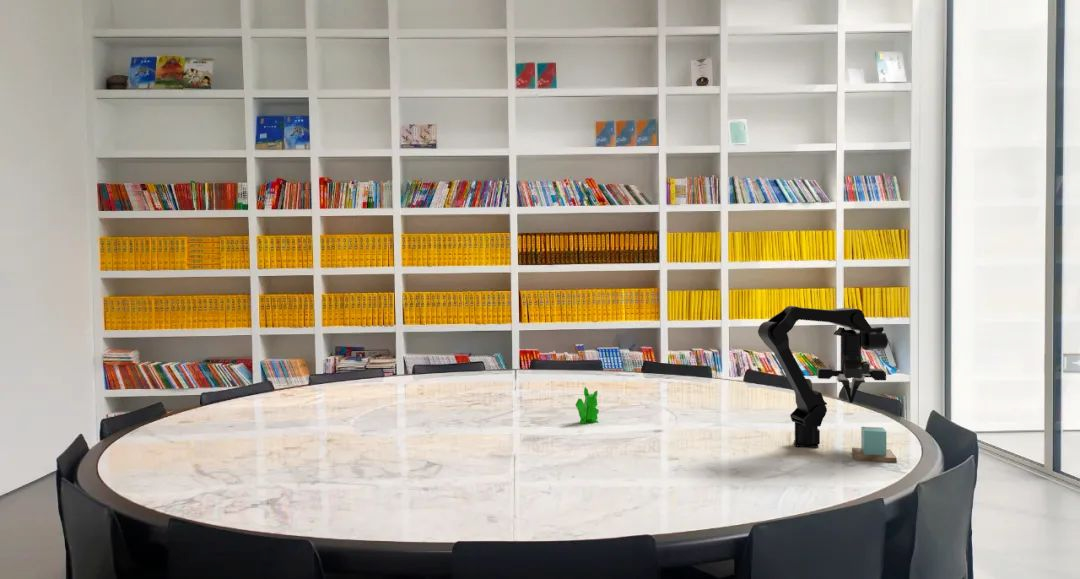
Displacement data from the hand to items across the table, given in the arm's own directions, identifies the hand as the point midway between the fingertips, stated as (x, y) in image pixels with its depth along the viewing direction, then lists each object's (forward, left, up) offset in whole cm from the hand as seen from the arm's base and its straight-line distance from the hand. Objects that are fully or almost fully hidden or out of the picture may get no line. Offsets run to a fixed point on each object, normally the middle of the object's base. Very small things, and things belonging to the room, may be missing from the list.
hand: (850, 402), depth 231 cm
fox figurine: (-82, +12, -12) cm, 84 cm away
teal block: (+4, -17, -11) cm, 20 cm away
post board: (+4, -17, -12) cm, 21 cm away
